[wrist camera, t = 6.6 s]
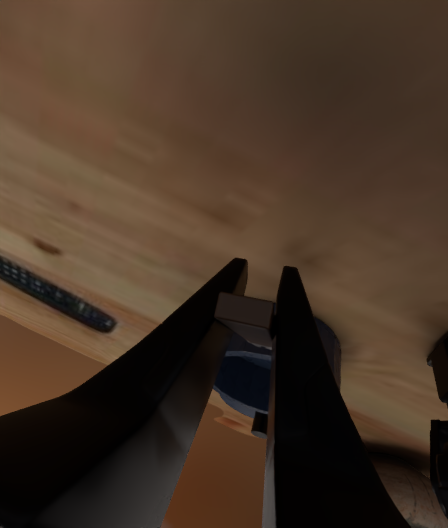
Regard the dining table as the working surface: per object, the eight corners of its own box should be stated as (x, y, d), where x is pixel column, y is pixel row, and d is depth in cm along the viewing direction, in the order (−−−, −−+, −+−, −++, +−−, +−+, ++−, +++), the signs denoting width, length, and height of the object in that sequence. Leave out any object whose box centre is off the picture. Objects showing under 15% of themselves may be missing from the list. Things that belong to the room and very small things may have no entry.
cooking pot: (294, 445, 56) (285, 526, 48) (335, 419, 42) (331, 528, 34) (425, 493, 54) (439, 588, 45) (514, 483, 40) (558, 617, 31)
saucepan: (261, 265, 24) (246, 317, 21) (381, 375, 31) (386, 430, 27) (176, 309, 34) (155, 352, 30) (282, 387, 40) (276, 430, 36)
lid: (270, 368, 37) (263, 409, 33) (338, 418, 42) (337, 458, 38) (203, 381, 47) (191, 413, 43) (263, 420, 51) (258, 453, 48)
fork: (285, 348, 22) (264, 477, 16) (254, 341, 22) (224, 463, 17) (324, 149, 11) (300, 328, 6) (261, 144, 12) (185, 303, 6)
